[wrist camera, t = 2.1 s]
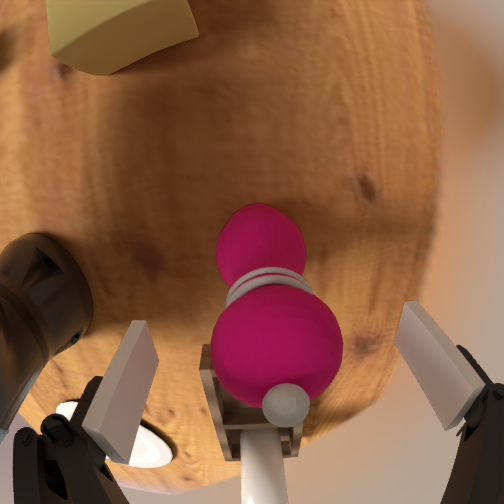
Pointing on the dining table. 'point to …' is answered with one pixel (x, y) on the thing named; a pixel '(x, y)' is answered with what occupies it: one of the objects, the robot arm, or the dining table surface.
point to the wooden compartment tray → (239, 415)
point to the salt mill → (262, 467)
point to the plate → (135, 443)
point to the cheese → (115, 31)
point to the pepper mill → (271, 319)
